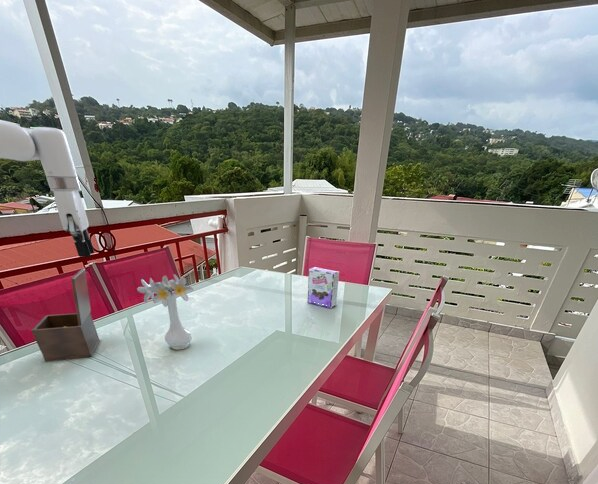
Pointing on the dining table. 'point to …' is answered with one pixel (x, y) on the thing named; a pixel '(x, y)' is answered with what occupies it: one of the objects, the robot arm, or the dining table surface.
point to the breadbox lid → (81, 295)
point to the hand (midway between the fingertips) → (86, 254)
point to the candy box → (323, 287)
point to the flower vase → (170, 307)
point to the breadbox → (65, 337)
